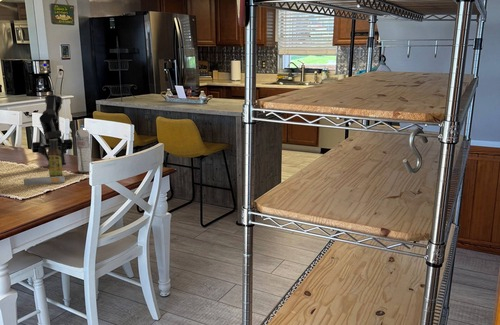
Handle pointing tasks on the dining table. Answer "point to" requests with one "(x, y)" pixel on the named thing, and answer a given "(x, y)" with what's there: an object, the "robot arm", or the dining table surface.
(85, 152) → the water bottle
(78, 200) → the dining table surface
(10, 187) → the dining table surface
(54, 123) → the robot arm
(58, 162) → the sauce bottle
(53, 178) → the rail
